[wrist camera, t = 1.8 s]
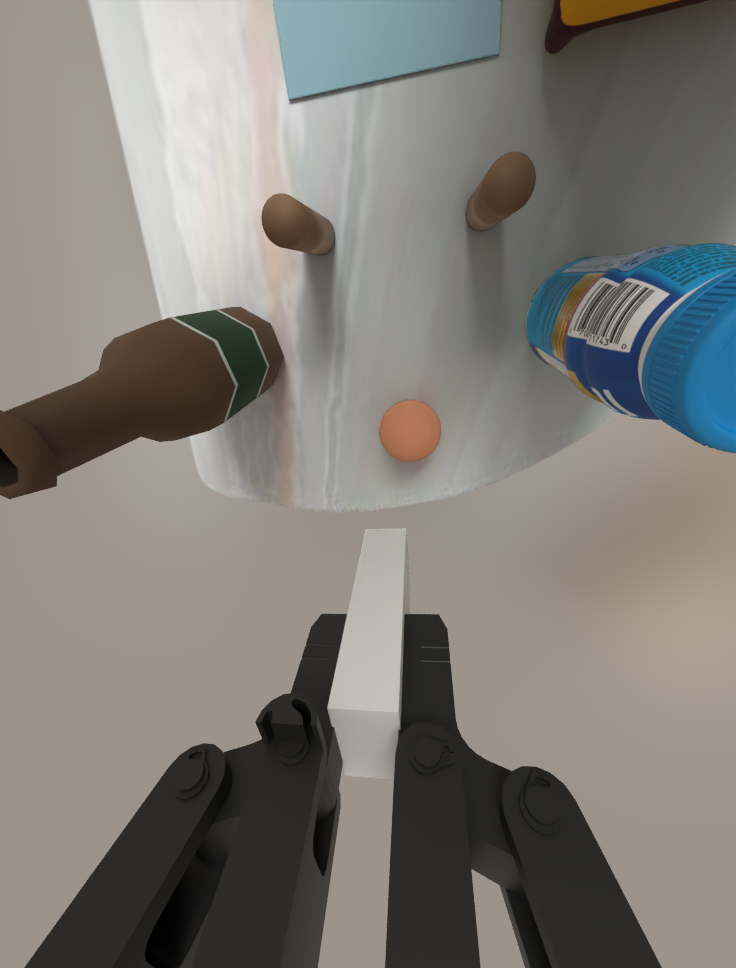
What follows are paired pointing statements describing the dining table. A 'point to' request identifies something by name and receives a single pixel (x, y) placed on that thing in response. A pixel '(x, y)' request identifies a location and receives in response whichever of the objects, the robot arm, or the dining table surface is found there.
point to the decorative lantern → (598, 16)
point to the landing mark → (379, 39)
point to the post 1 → (296, 226)
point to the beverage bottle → (648, 335)
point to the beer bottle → (141, 395)
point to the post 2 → (501, 191)
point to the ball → (410, 430)
